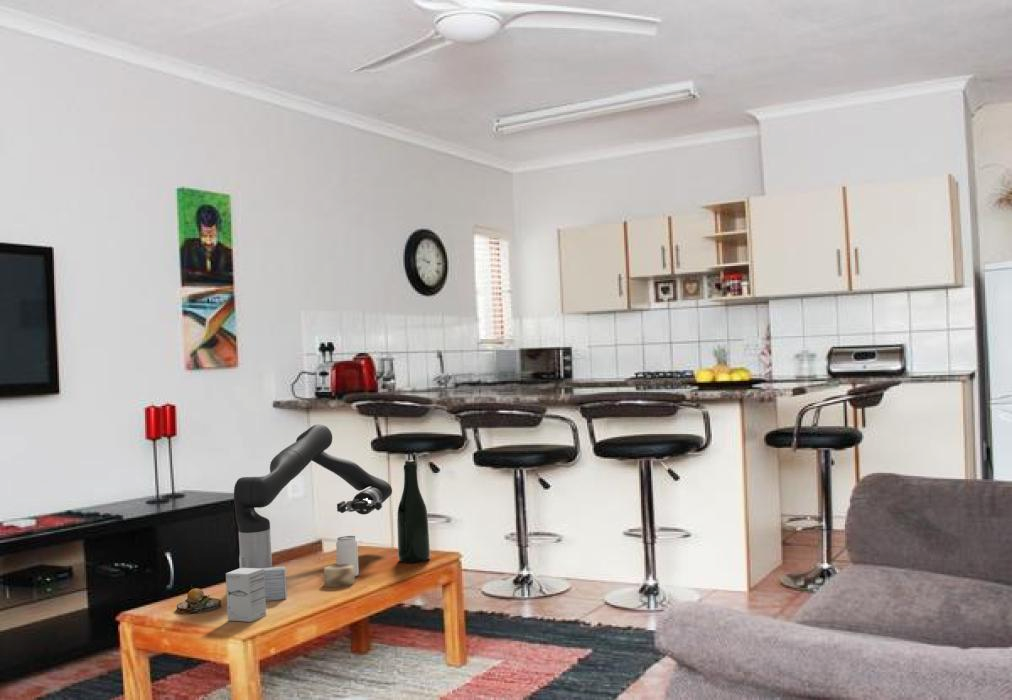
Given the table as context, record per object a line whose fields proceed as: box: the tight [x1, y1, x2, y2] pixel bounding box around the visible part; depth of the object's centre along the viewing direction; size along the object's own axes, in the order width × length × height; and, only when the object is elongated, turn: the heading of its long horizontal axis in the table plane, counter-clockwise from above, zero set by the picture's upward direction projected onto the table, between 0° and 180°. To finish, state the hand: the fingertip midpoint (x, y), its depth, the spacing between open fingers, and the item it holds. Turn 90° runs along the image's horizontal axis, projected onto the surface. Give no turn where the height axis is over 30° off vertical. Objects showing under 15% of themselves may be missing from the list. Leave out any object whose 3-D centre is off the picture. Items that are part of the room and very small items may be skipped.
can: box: [335, 535, 360, 578], centre depth 298 cm, size 6×6×12 cm
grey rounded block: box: [323, 564, 356, 588], centre depth 288 cm, size 9×9×5 cm
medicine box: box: [261, 565, 288, 602], centre depth 273 cm, size 8×4×9 cm, turn 100°
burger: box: [176, 585, 222, 615], centre depth 267 cm, size 12×12×8 cm
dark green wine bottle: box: [396, 459, 431, 564], centre depth 317 cm, size 10×10×33 cm
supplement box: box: [225, 567, 267, 623], centre depth 253 cm, size 7×7×13 cm
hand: (354, 509), depth 309 cm, fingers open, 8 cm apart
